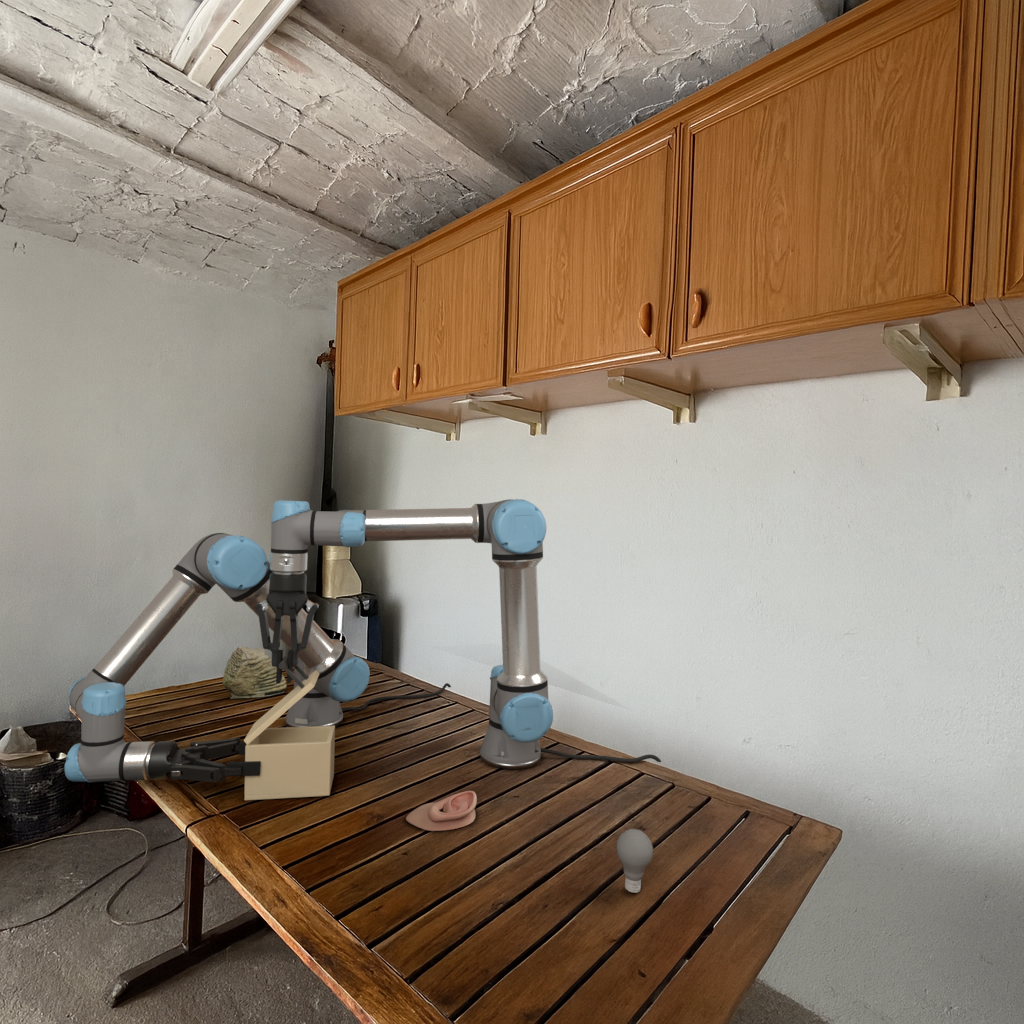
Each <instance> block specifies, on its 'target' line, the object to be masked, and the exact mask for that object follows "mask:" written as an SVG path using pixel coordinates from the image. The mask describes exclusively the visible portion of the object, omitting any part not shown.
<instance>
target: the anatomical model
mask: <svg viewBox="0 0 1024 1024" xmlns="http://www.w3.org/2000/svg"><path fill="white" fill-rule="evenodd" d="M477 803H478V798H477V793H476V792H475V791H473V790H465V791H461V792H458V793H455V794H452V795H450V796H447V797H445V798H443V799H441V800H438V801H436V802H429V803H425V804H422V805H420V806H418V807H416V808H415V809H413V810H412V811H410V813H408V814H407V816H406V817H405V821H406V822H408V823H409V824H410V825H412V826H414V827H416V828H418V829H422V830H425V831H428V832H429V831H430V832H440V831H450V830H456V829H459V828H463V827H466V826H468V825H470V824H472V823H473V822H474V821H475V819H476V810H475V809H476V806H477Z"/></svg>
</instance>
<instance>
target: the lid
mask: <svg viewBox="0 0 1024 1024" xmlns="http://www.w3.org/2000/svg"><path fill="white" fill-rule="evenodd" d="M287 664H288V653H286V654H285V655H283V659H282V661H281V662H280V663H279V668H280V669H282V671H284V672H285V673H286V675H287V674H288V675H289V676H290V677H291V678H292V681H293V682H294V681H295V682H296V683H297V684H298V686H297V687H296V688H294V687H293V689H292V690H291V691H290V692H288V693H287V694H286V695H285V696H283V698H281V699H280V700H279V701H278V702H277V703H276V704H275V705H274V706H272V707H271V708H270V709H269V710H267V712H266V713H264V714H263V715H262V716H261V717H260V718H259V719H257V720H256V721H255V722H254V723H253V724H252V726H251V728H250V730H249V731H248V733H247V735H246V736H245V738H244V739H243V742H245V743H246V744H247V745H248V744H249V743H250V742H251V741H253V740H254V739H255V738H256V737H257V736H258V735H260V734H261V733H262V732H263V731H264V730H265V729H266V728H270V727H271V726H272V724H274V722H276V721H277V720H278V719H279V718H281V716H283V715H284V714H285V713H286V712H288V710H289V708H291V707H292V706H293V705H294V704H295V703H296V702H297V701H299V700H300V699H301V698H302V697H303V696H304V695H306V694H307V693H308V692H309V691H310V690H311V689H312V688H314V686H315V684H316V681H317V679H318V676H319V674H320V673H319V672H318V671H317V670H315V671H314V672H313V673H312V674H311V675H309V676H307V675H306V674H305V672H304V671H303V670H302V669H301V668H300V667H299V666H298V665H297V666H296V667H293V669H294V668H295V669H296V670H297V671H298V672H299V673H300V674H301V675H302V676H303V677H304V678H305V680H304V681H303V682H301V681H300V680H299V679H298V678H297V677H296V676H295V675H294V672H293V673H292V672H291V671H290V670H289V669H288V667H287Z"/></svg>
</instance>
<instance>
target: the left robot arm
mask: <svg viewBox="0 0 1024 1024" xmlns="http://www.w3.org/2000/svg"><path fill="white" fill-rule="evenodd" d="M171 571H172V577H171V578H170V579H169V580H168V581H167V583H166V584H165V585H164V586H163V587H162V588H161V590H160V591H159V592H157V594H156V595H155V597H153V599H152V600H151V601H150V602H149V603H148V605H147V606H146V607H145V608H144V609H143V610H142V611H141V613H140V614H139V615H138V616H137V617H136V618H135V620H134V621H133V622H132V623H131V624H130V625H129V627H128V628H127V629H126V630H125V631H124V632H123V634H122V635H121V636H120V637H119V638H118V640H116V642H115V643H114V644H113V645H112V646H111V647H110V649H109V650H108V652H106V653H105V655H103V657H102V658H101V659H100V661H98V663H97V664H96V665H95V666H94V667H93V668H92V669H91V671H90V672H89V673H88V674H87V675H86V676H83V677H81V678H78V679H77V680H75V681H74V683H73V684H72V685H71V686H70V688H69V690H68V694H67V695H68V696H67V698H68V702H69V705H70V708H71V709H72V710H73V711H74V712H75V713H76V715H77V716H78V718H79V720H80V722H81V725H80V726H81V730H80V731H81V732H80V735H81V737H80V742H79V743H78V742H77V743H75V744H73V745H72V746H71V748H69V750H68V752H67V754H66V757H65V758H66V759H65V763H64V767H63V768H64V775H65V777H66V779H67V780H68V781H70V782H73V783H75V782H76V783H90V784H93V783H102V782H122V781H123V782H127V781H134V782H135V783H139V782H140V781H148V780H152V781H165V780H166V781H167V780H168V781H169V780H172V781H174V780H176V781H177V780H186V781H197V782H205V783H206V782H207V783H218V782H219V783H224V782H225V780H226V778H227V777H228V778H229V777H245V776H259V775H260V766H261V761H247V762H245V761H227V762H226V764H224V763H221V762H216V761H212V760H215V759H217V758H223V757H227V756H232V755H236V754H238V756H245V746H246V743H245V742H244V741H241V737H239V736H238V737H233V738H231V737H230V738H223V739H222V738H221V739H216V740H215V739H214V740H206V741H191V742H190V744H189V746H187V747H184V748H179V745H178V743H177V741H175V740H164V741H163V740H162V741H161V740H159V741H157V742H155V741H154V740H151V741H125V723H126V705H127V698H126V687H125V686H126V685H127V684H128V683H129V681H131V679H132V678H133V676H134V675H136V673H137V672H138V671H139V669H140V668H141V667H142V666H143V664H144V663H145V662H146V661H147V660H148V658H149V657H150V656H151V655H152V653H154V651H155V650H156V649H157V647H158V646H159V645H160V644H161V643H162V641H163V640H164V639H165V638H166V637H167V636H168V634H169V633H170V632H171V631H172V630H173V628H174V627H175V626H176V625H177V624H178V623H179V621H180V620H181V619H182V618H183V616H184V615H185V614H186V613H187V612H188V611H189V609H190V608H191V607H192V606H193V605H194V603H195V602H196V601H197V600H198V599H199V597H200V596H201V595H206V594H208V593H209V592H210V591H211V590H212V588H214V586H216V585H217V586H218V587H219V588H220V589H221V590H222V591H223V592H224V593H225V594H226V595H227V596H228V597H229V598H230V599H231V600H232V602H234V603H244V604H245V605H247V607H248V608H249V609H250V610H251V611H252V612H253V613H255V615H256V616H257V617H258V618H259V615H258V613H257V611H256V610H255V608H254V606H255V605H256V604H257V603H258V602H262V601H264V600H266V598H267V596H268V594H269V581H270V574H271V573H273V571H271V570H270V561H269V560H268V556H267V554H266V551H265V549H264V548H263V547H262V546H261V545H260V544H259V543H257V542H256V541H255V540H254V539H251V538H249V537H247V536H244V535H235V534H229V533H225V532H215V533H210V534H207V535H205V536H203V537H202V538H200V539H199V540H198V541H197V542H196V543H195V544H193V545H192V547H190V549H189V550H188V551H187V552H186V553H185V554H184V556H183V557H182V558H181V559H180V561H178V563H176V564H175V566H174V567H173V568H172V570H171ZM267 607H268V609H267V610H266V612H267V618H268V625H269V630H271V631H272V632H273V633H274V626H275V613H274V611H273V610H272V609H271V607H270V606H269V604H268V605H267ZM307 614H308V612H307V611H305V609H304V608H302V609H301V610H300V612H299V613H298V633H299V643H301V641H302V637H303V632H304V627H305V623H306V618H307ZM280 641H282V643H284V645H286V646H287V647H288V648H289V650H292V648H291V623H290V616H287V615H285V616H284V617H283V622H282V631H281V639H280ZM297 665H298V666H299V667H300V668H301V669H302V670H303V671H304V672H305V674H306V675H307V676H309V675H311V674H312V673H313V672H314V671H315V670H317V671H318V672H319V673H320V674H319V676H318V679H317V681H316V684H315V686H314V688H312V689H311V690H310V691H309V692H308V693H307V694H306V695H304V696H303V697H302V698H301V699H300V700H299V701H297V702H296V703H295V704H294V705H293V706H292V707H291V708H289V709H288V710H287V713H286V715H285V727H310V726H335V728H337V727H339V726H340V725H342V723H343V722H344V714H343V712H346V711H361V710H362V711H363V710H364V709H367V707H368V705H369V704H371V703H373V702H377V701H378V702H379V701H383V700H384V701H385V700H394V699H395V700H396V699H419V698H429V697H433V696H437V695H440V694H442V693H443V692H444V691H445V689H446V688H451V687H452V685H451V684H450V683H448V682H445V683H444V685H443V686H442V687H441V688H440V689H439V690H438V691H434V692H431V693H430V692H429V693H423V694H412V695H411V694H410V695H409V694H408V695H407V694H405V695H402V694H401V695H400V694H399V695H388V696H379V697H373V698H371V699H368V700H367V701H365V703H364V704H363V705H361V706H357V707H354V706H353V707H352V706H350V707H349V706H348V707H347V706H346V707H342V706H341V703H350V702H353V701H355V700H356V699H358V698H359V697H361V695H362V694H363V693H364V692H365V691H366V689H367V688H368V685H369V682H370V676H371V673H370V672H371V671H370V667H369V665H368V663H367V662H366V661H365V660H364V659H363V658H361V657H359V656H356V655H354V654H353V652H352V651H351V650H350V649H349V648H348V647H347V646H346V645H345V643H343V642H342V641H341V640H340V639H336V638H330V637H329V635H328V634H327V633H326V632H325V631H324V630H323V629H322V628H321V627H320V626H319V625H318V623H316V621H315V620H313V622H312V627H311V631H310V636H309V641H308V645H307V647H306V648H305V649H302V650H299V654H298V664H297ZM293 671H294V672H293V674H294V675H295V676H296V677H297V678H298V679H299V680H300V681H301V682H303V681H304V680H305V678H304V677H303V676H302V675H301V674H300V673H299V672H298V671H297V670H296V669H295V668H294V667H293ZM297 686H298V684H297V683H296V682H295V681H294V680H293V689H294V688H296V687H297Z"/></svg>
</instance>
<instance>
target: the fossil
mask: <svg viewBox="0 0 1024 1024" xmlns="http://www.w3.org/2000/svg"><path fill="white" fill-rule="evenodd" d="M276 670H277V667H272V657H270V656H269V655H268V654H267V653H266V652H265V649H264V648H260V647H258V648H251V647H247V646H246V647H245V646H238V647H237V648H236V649H235V650H233V651H232V653H231V656H230V657H229V659H228V660H227V663H226V666H225V668H224V671H223V675H222V676H223V677H222V685H223V687H224V688H225V690H226V691H228V693H229V698H230V699H250V698H264V697H271V696H275V695H281V694H284V693H285V691H286V689H287V687H288V686H287V679H286V678H285V676H284V674H282V680H281V682H280V683H276Z"/></svg>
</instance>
